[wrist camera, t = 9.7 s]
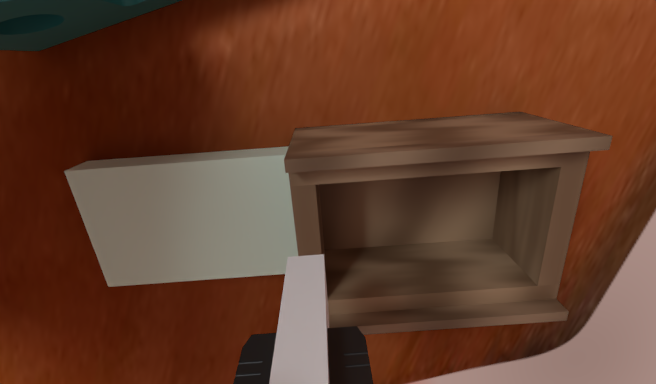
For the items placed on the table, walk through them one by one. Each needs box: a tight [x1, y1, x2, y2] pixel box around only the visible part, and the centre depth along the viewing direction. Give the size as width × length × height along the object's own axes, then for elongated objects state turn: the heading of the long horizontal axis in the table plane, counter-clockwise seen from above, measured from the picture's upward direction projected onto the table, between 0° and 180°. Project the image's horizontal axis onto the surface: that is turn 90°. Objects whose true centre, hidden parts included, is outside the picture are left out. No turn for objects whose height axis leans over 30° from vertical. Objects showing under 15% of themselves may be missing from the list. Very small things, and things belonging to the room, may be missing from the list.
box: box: [284, 112, 612, 335], centre depth 19 cm, size 14×10×7 cm
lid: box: [64, 146, 298, 287], centre depth 22 cm, size 13×8×2 cm, turn 94°
